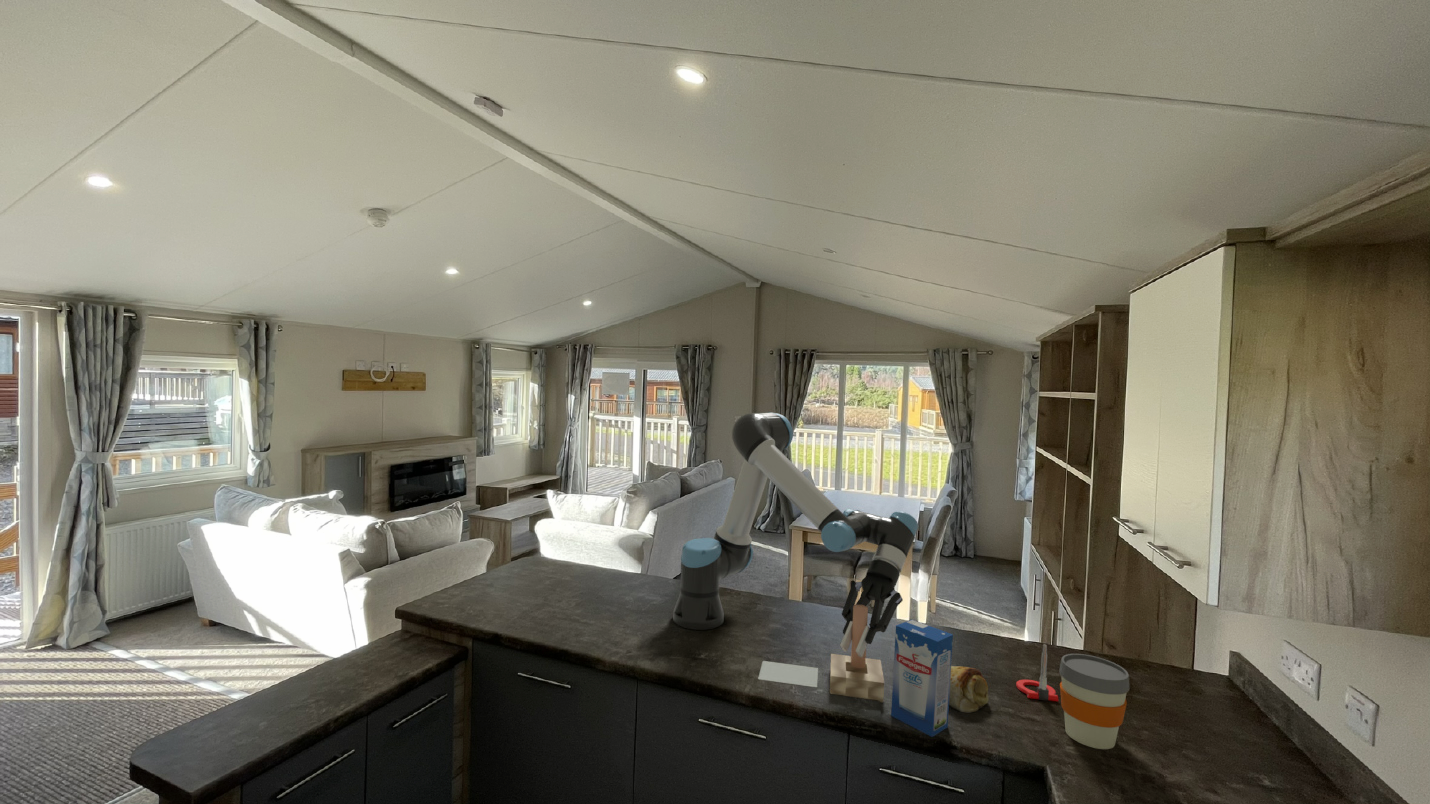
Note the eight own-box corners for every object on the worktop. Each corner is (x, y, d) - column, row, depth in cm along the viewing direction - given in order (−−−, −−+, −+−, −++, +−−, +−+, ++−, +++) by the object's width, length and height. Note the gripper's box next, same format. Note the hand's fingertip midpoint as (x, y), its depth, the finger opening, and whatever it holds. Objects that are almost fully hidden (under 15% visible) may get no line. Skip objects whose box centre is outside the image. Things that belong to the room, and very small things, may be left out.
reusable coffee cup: (1053, 739, 126) (1057, 668, 126) (1058, 713, 136) (1062, 648, 136) (1125, 762, 119) (1130, 687, 119) (1125, 733, 130) (1129, 664, 129)
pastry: (986, 719, 133) (988, 683, 133) (926, 703, 139) (928, 669, 138) (989, 692, 145) (991, 659, 145) (935, 678, 151) (936, 646, 151)
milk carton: (890, 715, 132) (895, 625, 132) (906, 706, 136) (911, 619, 136) (932, 737, 125) (937, 641, 124) (948, 727, 129) (953, 634, 128)
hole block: (829, 694, 140) (830, 675, 140) (830, 671, 152) (831, 653, 152) (883, 702, 138) (884, 683, 138) (879, 677, 150) (880, 659, 150)
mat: (757, 680, 145) (757, 679, 145) (762, 662, 155) (762, 660, 155) (816, 688, 143) (817, 687, 143) (818, 669, 153) (818, 668, 153)
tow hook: (1011, 682, 152) (1024, 699, 142) (1013, 630, 152) (1027, 644, 143) (1047, 686, 150) (1062, 703, 141) (1049, 634, 151) (1065, 648, 141)
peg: (850, 667, 143) (853, 608, 143) (850, 661, 147) (853, 603, 146) (865, 669, 143) (868, 610, 142) (865, 662, 146) (867, 605, 146)
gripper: (921, 582, 150) (888, 670, 138) (860, 567, 161) (825, 648, 149) (913, 565, 146) (878, 654, 134) (852, 551, 157) (815, 632, 145)
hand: (851, 651), depth 142 cm, fingers closed on peg, 3 cm apart
